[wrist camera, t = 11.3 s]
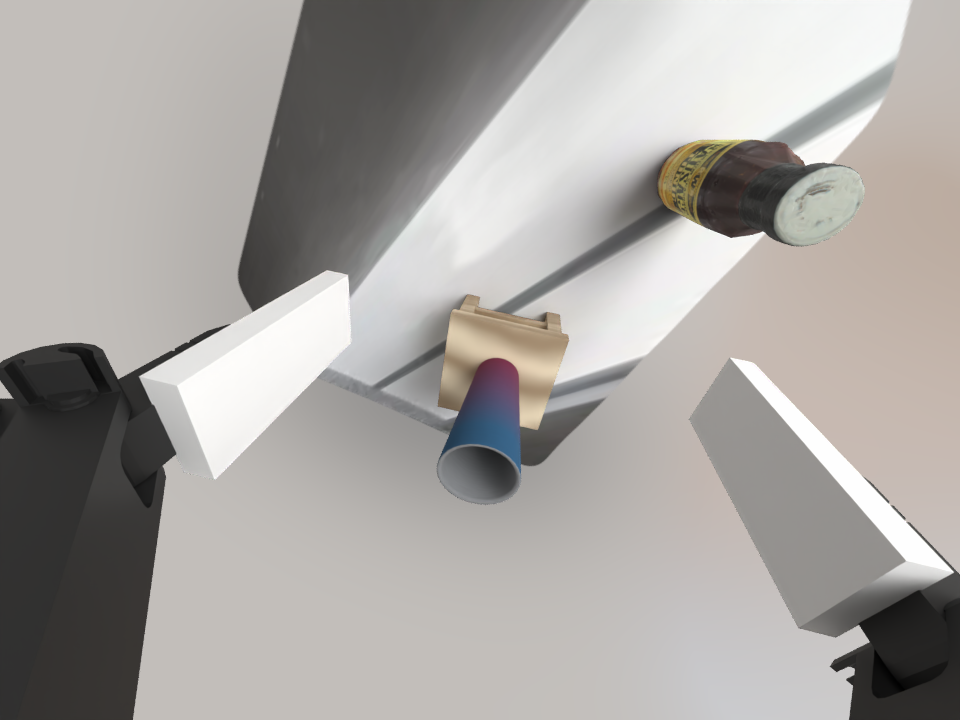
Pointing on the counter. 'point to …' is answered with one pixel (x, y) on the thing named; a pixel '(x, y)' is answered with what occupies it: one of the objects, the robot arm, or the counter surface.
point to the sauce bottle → (759, 191)
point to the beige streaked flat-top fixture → (502, 355)
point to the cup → (485, 438)
